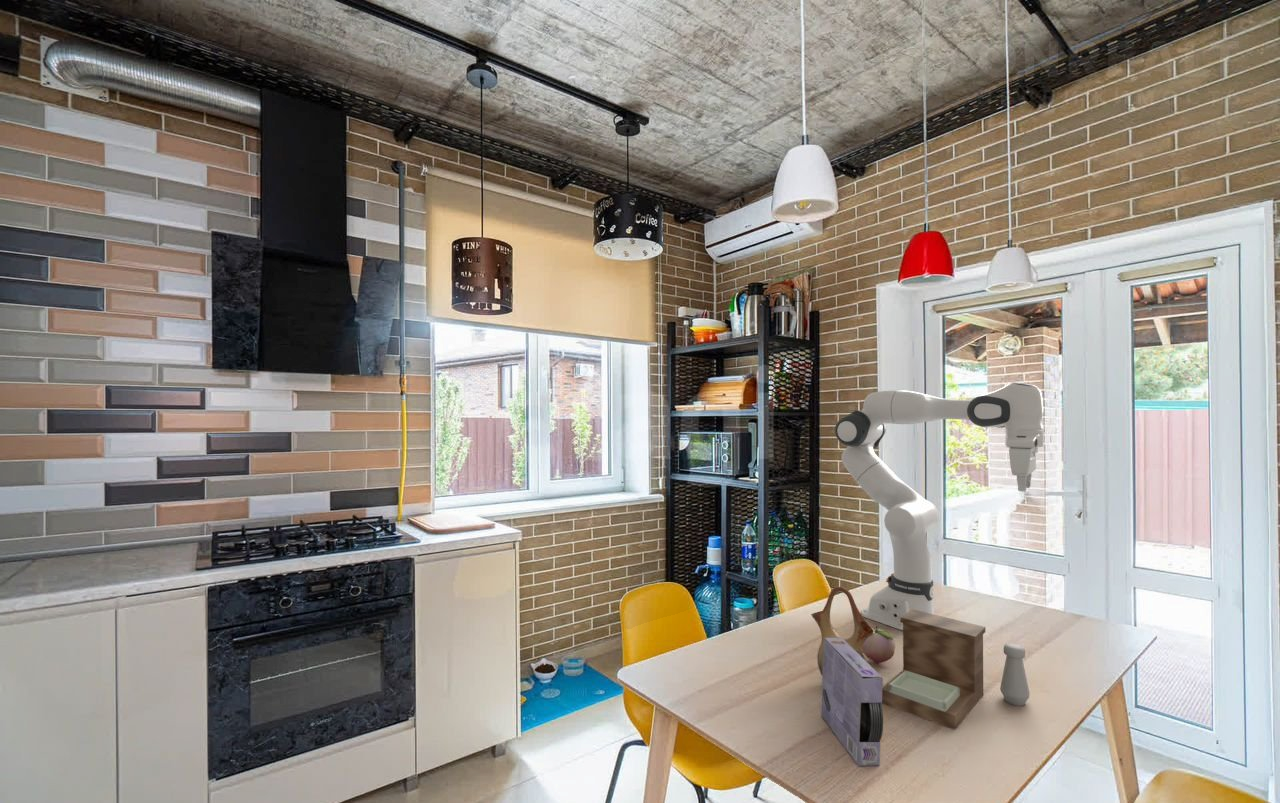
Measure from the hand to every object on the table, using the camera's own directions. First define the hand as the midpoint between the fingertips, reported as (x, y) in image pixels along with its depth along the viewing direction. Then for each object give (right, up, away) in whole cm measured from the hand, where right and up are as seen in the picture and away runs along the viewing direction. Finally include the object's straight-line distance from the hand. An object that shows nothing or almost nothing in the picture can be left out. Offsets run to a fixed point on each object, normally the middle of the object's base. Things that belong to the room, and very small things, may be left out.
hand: (1024, 489), depth 158 cm
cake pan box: (-64, -46, -42) cm, 89 cm away
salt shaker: (-20, -46, -26) cm, 56 cm away
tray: (-42, -43, -28) cm, 66 cm away
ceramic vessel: (-59, -46, -20) cm, 77 cm away
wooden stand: (-38, -46, -24) cm, 65 cm away
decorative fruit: (-44, -46, -6) cm, 64 cm away
